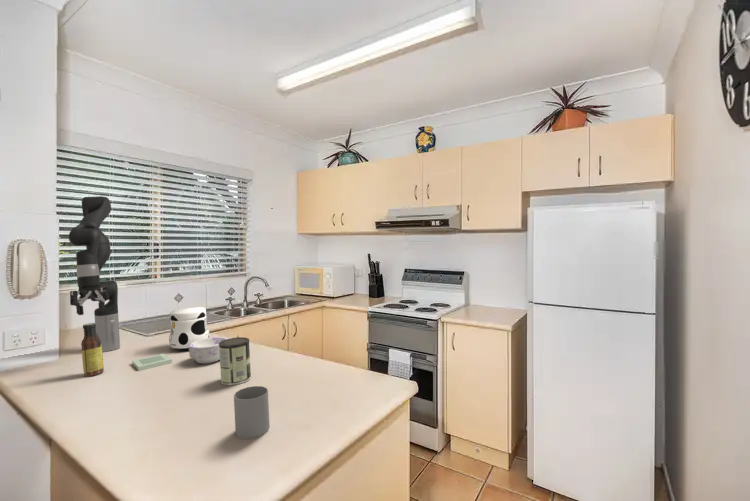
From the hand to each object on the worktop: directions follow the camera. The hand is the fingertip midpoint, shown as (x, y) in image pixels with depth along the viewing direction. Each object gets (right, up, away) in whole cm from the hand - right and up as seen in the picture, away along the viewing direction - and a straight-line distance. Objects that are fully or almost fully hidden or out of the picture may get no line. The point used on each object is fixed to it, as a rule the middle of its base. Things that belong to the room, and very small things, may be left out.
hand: (91, 312), depth 153 cm
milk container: (+32, -20, +20) cm, 43 cm away
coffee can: (+71, -20, -24) cm, 78 cm away
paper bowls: (+51, -20, -1) cm, 55 cm away
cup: (+89, -21, -59) cm, 109 cm away
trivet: (+28, -21, -3) cm, 35 cm away
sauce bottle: (+11, -22, -13) cm, 28 cm away
